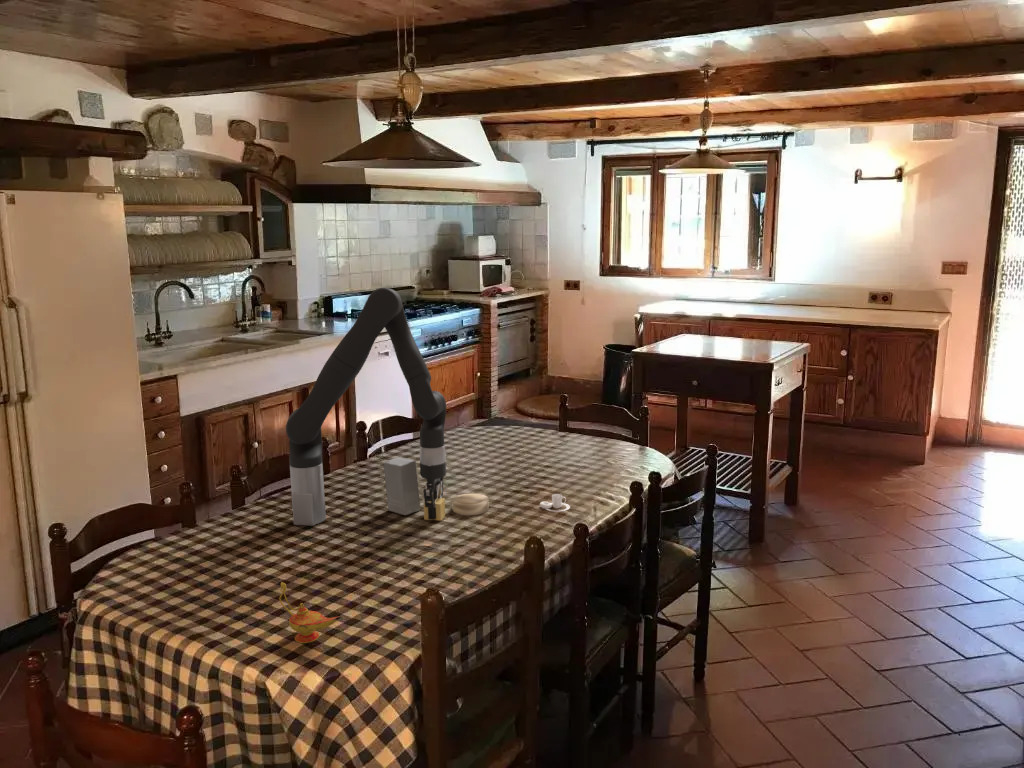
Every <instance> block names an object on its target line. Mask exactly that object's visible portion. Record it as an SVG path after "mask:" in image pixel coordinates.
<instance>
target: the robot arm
mask: <svg viewBox="0 0 1024 768" xmlns="http://www.w3.org/2000/svg"><path fill="white" fill-rule="evenodd" d="M384 328H385V330H386V331H387V332H386V333H387V334H388V337H389V338H390V341H391V343H392V346H393V349H394V352H395V356H396V359H397V362H398V365H399V368H400V371H401V372H402V374H403V377H404V378H405V381H406V383H407V385H408V388H409V394H410V397H411V401H412V406H413V408H414V410H415V412H416V414H417V415H418V416H419V417H420V418H421V419H423V422H422V425H421V426H420V430H419V446H420V447H419V469H420V471H419V473H420V476H421V477H420V478H423V479H425V480H426V483H425V486H424V488H423V498H424V503H425V507H428V518H429V519H431V520H430V521H436V520H435V519H436V500H437V499H438V498H442V497H443V496H444V477H446V475H447V462H446V461H447V459H446V457H447V456H446V447H445V433H444V432H445V431H444V430H445V423H446V417H447V402H446V398H445V397H444V395H443V394H442V393H441V392H439V391H437V390H432V387H431V381H432V376H431V373H430V371H429V368H428V367H427V363H426V362H425V359H424V356H422V353H421V351H420V349H419V347H418V344H417V343H416V340H415V339H414V336H413V334H412V331H411V329H410V326H409V323H408V320H407V316H406V312H405V308H404V306H403V300H402V297H401V295H400V294H399V292H397V291H396V290H394V289H393V288H389V287H379V288H376V289H375V290H373V291H372V292H370V295H369V296H368V297H367V300H366V301H365V304H364V306H363V308H362V309H361V312H360V313H359V315H358V317H357V319H356V321H355V322H354V324H353V325H352V326H351V328H350V329H349V330H348V331H347V333H346V334H345V335H344V336H343V338H342V339H341V341H340V342H339V343H338V344H337V346H336V347H335V348H334V350H333V351H332V353H331V354H330V356H329V357H328V359H327V360H326V362H324V363H325V364H324V365H323V366H322V369H321V370H320V373H319V374H318V376H317V378H316V380H315V382H314V385H313V387H312V388H311V391H310V393H309V394H308V396H307V397H306V399H305V400H304V401H303V402H302V403H301V405H300V406H299V408H296V409H295V410H293V411H292V412H291V414H290V415H289V416H288V419H287V421H286V424H285V431H286V432H285V433H286V436H287V437H288V441H289V444H288V445H289V452H288V453H289V454H288V458H289V471H290V472H289V474H290V486H291V487H290V488H291V489H290V490H291V501H292V502H291V507H292V519H293V525H295V526H311V527H312V526H315V525H316V524H321V523H322V522H324V521H325V520H326V519H327V515H326V514H327V513H326V497H325V484H324V469H323V468H324V467H323V466H324V465H323V464H324V463H323V439H322V426H323V424H324V423H325V420H326V418H327V417H328V415H329V413H330V411H331V410H332V409H333V407H334V406H335V404H336V403H337V402H338V400H340V399H341V398H342V396H344V394H345V393H346V392H347V390H348V389H349V387H350V386H351V385H352V383H353V382H354V381H355V379H356V378H357V376H358V375H359V374H360V372H361V370H362V369H363V367H364V365H365V363H366V361H367V359H368V357H369V354H371V353H370V352H371V350H372V348H373V346H374V344H375V341H376V340H377V338H378V337H379V335H380V334H381V333H382V331H383V330H384ZM430 501H431V503H430Z"/></svg>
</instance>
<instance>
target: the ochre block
mask: <svg viewBox="0 0 1024 768" xmlns="http://www.w3.org/2000/svg"><path fill="white" fill-rule="evenodd" d="M445 500H446V498H444V497H443V498H438V499H437V500H436V519H435V520H434V521H442V520H443V519H444V517H445V515H446V501H445ZM430 503H431V501H430ZM423 516H424V517H423V519H424V521H432V520H431V519H429V518H428V507H425V502H424V503H423Z"/></svg>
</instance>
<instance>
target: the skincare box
mask: <svg viewBox="0 0 1024 768" xmlns="http://www.w3.org/2000/svg"><path fill="white" fill-rule="evenodd" d="M416 462H417V461H416V460H413V459H409V458H406V457H405V458H404V457H401V456H397V457H395V458H392V459H391V458H390V459H389V460H386V461H383V463H382V464H383V472H384V474H383V475H384V482H385V490H386V491H385V492H386V500H387V501H386V502H387V510H388V511H389V512H392V513H396V514H400V515H403V516H408V515H411V514H413V513H416V512H419V511H421V501H420V491H419V481H418V471H417V463H416Z"/></svg>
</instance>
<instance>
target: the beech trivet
mask: <svg viewBox="0 0 1024 768" xmlns="http://www.w3.org/2000/svg"><path fill="white" fill-rule="evenodd" d="M489 501H490V499H489V497H488V496H487V495H484V494H481V493H462V494H458V495H456V496H454V497H453V498H452V500H451V504H452V505H451V506H452V507H451V508H452V512H453V513H454V514H457V515H461V516H476V515H482V514H485V513H487V512H488V511H489V510H488V509H490V508H489Z"/></svg>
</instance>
